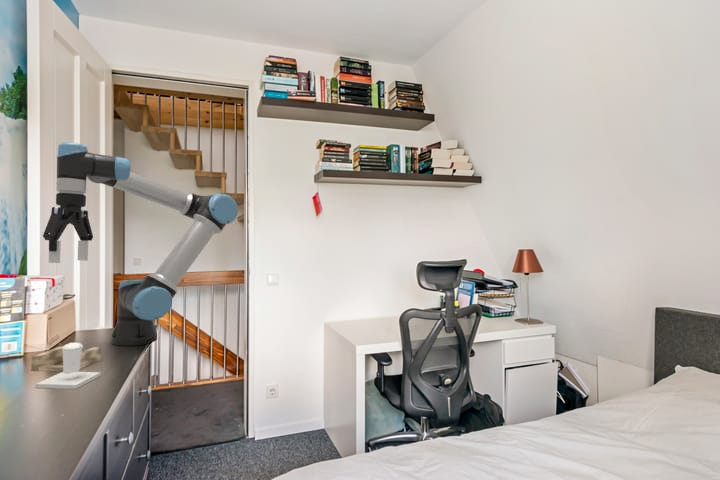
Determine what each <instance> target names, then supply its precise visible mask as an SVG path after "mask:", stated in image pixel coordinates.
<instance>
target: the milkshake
mask: <svg viewBox="0 0 720 480" xmlns="http://www.w3.org/2000/svg"><path fill="white" fill-rule="evenodd" d="M58 343H59V345H60V346H61V347H62V346H63V347H62V354H63V361H62V366H63V371H62V372H63V376H64V379H66V380H68V379H75V378H78V376H79V372H80V370H81V369H80V362H81V356H82V352H83V351H84V350H83V349H84V345H83V344H82V343H81V342H69V343H67V344H64V345H61V342H60V341H58Z"/></svg>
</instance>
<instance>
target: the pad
mask: <svg viewBox="0 0 720 480" xmlns="http://www.w3.org/2000/svg"><path fill="white" fill-rule="evenodd" d="M101 374H102V373H101V372H97V371H92V372H91V371H79V376H78V378H75V379H68V380H66V379H64V376H63V371H60V372H59V373H57V374H55V375H52V376H50V377H48V378H46V379H44V380H41V381H39V382H37V383H35V388H34V389H55V390H56V389H59V390H60V389H61V390H63V389H64V390H66V389H67V390H77V389H78V388H80V387H83V386H84V385H86V384H88V383H90V382H92V381H93V380H96V379H98V378H99V377H101Z"/></svg>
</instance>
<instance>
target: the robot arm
mask: <svg viewBox="0 0 720 480" xmlns="http://www.w3.org/2000/svg"><path fill="white" fill-rule="evenodd" d="M87 179H88V180H89V182H92V183H93V184H102V185H105V186H109V187H111V188H114V189H116V190H120V191H123V192H126V193H129V194H131V195H134V196H137V197H140V198H142V199H145V200H147V201H150V202H154V203H157V204H159V205H161V206H164V207H168V208H169V209H172V210H175V211H179V214H181V215H182V216H185V217H188V218H190V219H193V220H194V221H193V222H192V224H191V225H190V226H189V228H188V229H187V231H185V233H184V234H183V235H182V236H181V238H180V239H179V241H178V242H177V244H176V245H175V246H174V248H173V249H172V250H171V251H170V252H169V254H168V255H167V257H166V258H165V259H164V260H163V262H162V263H161V265H160V266H159V267H158V268H157V270H156V271H155V272H154V273H151V274H147V275H146V276H145V277H144V279H124V280H121V281H120V282H119V286H118V299H117V300H118V302H117V304H118V305H117V321H116V324H115V326H114V329H113V332H112V334H111V337H110V344H112V345H115V346H122V347H123V346H125V347H127V346H130V347H132V346H139V345H140V346H141V345H142V346H143V345H148V344H151V343H154V342H156V341H157V340H158V332H157V329H156V325H155V322H154V321H157V320H159V319H162V318H163V317H164V316H166V315H167V314H168V313H169V312H170V310H171V309H172V305H173V298H174V297H175V295H177V293H178V290H177V285H178V284H179V283H180V281H181V280H182V279H183V278H184V275H186V273H187V272H188V271H189V269H190V268H191V266H193V264H194V262H196V259H197V258H198V257H199V255H200V254H201V253H202V251H203V250H204V249H205V247H206V246H207V244H208V243H209V241H210V240H212V238H213V236H214V235H216V234H220V233H221V232H222V231H223V230H224V228H225V226H226V225H229V224H231V223H233V222H234V221H235V220H236V218H237V217H238V212H239V211H238V210H239V209H238V205H237V202H236V201H235V199H234V198H233V197H232V196H230V195H229V194H224V193H216V194H212V195H211V194H210V195H201V194H200V195H199V194H195V193H192V192H187V193H185V192H184V191H181V190H178V189H175V188H172V187H170V186H168V185H165V184H162V183H161V182H157V181H155V180H152V179H150V178H147V177H144V176H142V175H139V174H137V173H134V172H132V171H131V163H130V161H129V159H127V158H124V157H120V156H112V155H104V154H97V153H93V152H89V150H88V147H87V146H86V145H84V144H79V143H76V142H61V143H59V144H58V146H57V156H56V183H55V184H56V191H57V193H56V194H55V204H56V206H52V207H51V210H50V211H51V212H50V216H49V220H48V222H47V225H46V226H45V229H44V232H43V235H42V237H43V238H44V241H48V263H50V264H51V263H52V264H53V263H55V264H59V263H61V250H62V249H61V245H62V244H61V243H62V241H61V240H59V239H60V237H62V234H63V233H64V231H65V230H66V228H67V227H68V225H69V224H71V225H72V226H73V228H74V230H75V232H76V234H77V235H78V238H79V240H78V241H77V261H88V260H89V258H88V256H89V241H93V238H94V235H93V231H92V226H91V223H90V219H89V211H88V210H84V209H83V210H82V208H83V207H86V205H87V204H86V203H87V202H86V200H87V196H86V195H85V194H86V193H87ZM57 206H58V207H57Z"/></svg>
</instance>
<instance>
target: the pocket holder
mask: <svg viewBox="0 0 720 480" xmlns="http://www.w3.org/2000/svg"><path fill="white" fill-rule="evenodd" d="M61 346H62V347H63V346H64V345H60V346H57V347H54V348H52V349H49V350H46V351H43V352H41V353H39V354H35V355H32V356H31V368H30V370H31V371H34V372H35V371H36V372H37V371H38V372H39V371H40V372H63V365H58V363H60V362H63V354H62V347H61ZM101 353H102V346H93V347H90V348H88V349H86V350H83V351H82V356H81V362H80V370H81V369H83V368H85V367H88V366H89V365H92V364H94V363H97V362H98V361H101V359H102V358H101V357H102V356H101V355H102V354H101Z"/></svg>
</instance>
